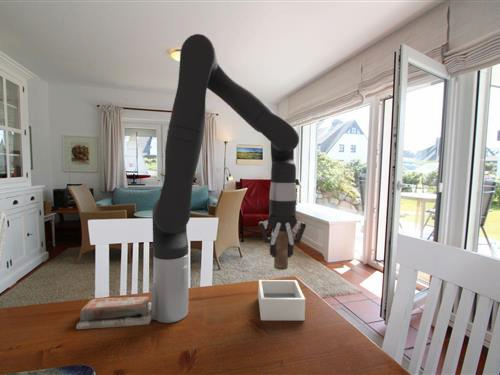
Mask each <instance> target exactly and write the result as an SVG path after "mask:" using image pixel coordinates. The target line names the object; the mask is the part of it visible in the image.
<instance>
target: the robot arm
mask: <svg viewBox="0 0 500 375" xmlns="http://www.w3.org/2000/svg"><path fill="white" fill-rule="evenodd" d="M180 48H181V49H180V52H179V53H180V55H179V69H178V80H177V89H176V93H175V96H174V97H175V98H174V101H173V106H172V109H171V110H172V111H171V114H170V119H169V120H170V121H169V123H168V124H169V125H168V130H167V136H166V141H165V151H164V152H165V153H164V177H163V178H164V179H163V183H162V187H161V191H160V194H159V198H158V199H157V200H156V201H155V203H154V205H153V207H152V249H153V282H152V283H151V286H150V294H151V295H150V299H151V300H150V302H151V317H152V319H151V321H152V320H155V321H157V322H159V323H165V324H172V323H177V322H179V321H181V320H183V319H184V318H186V316H188V314H189V241H188V234H187V232H188V231H187V230H188V229H187V226H188V224H189V221H190V218H191V211H192V210H191V209H192V208H191V207H192V206H191V205H192V194H193V186H194V180H195V175H196V172H197V169H198V163H199V159H200V154H201V152H202V146H203V140H204V136H205V127H206V98H207V90H209V91H211V92H212V93H213V94H215V95H216V96H218V97H219V98H220V99H221V100H222V101H223V102H224V103H226V104H227V106H228V107H230V108H231V109H232V110H233V111H234V112H236V114H237V115H238V116H239V117H241V118H242V120H243V121H245V123H247V124H248V125H249V126H250V127H251V128H252V129H254V130H255V131H256V132H258V133H260V134H262V135H263V136H264V137H265V138H266V139H267V140H268V141H269V142H270V156H271V157H270V158H271V170H270V187H269V212H268V215H269V216H268V218H267V219H266V220H264V221H263V220H262V221H261V220H260V221H259V222H258V226H259V229H260V231H261V234H262V238H263V240H264V243H266V244H269V255H270V256H271V257H272V258H274V257H275V241H276V238H277V235H278V232H279V231H287V234H288V239H289V242H288V259H289V258H291V257H292V256H293V254H294V245H295V244H299V243H301V240H302V237H303V234H304V232H305V230H306V226H307V224H306V223H305V222H304V221H299V220H298V219H297V217H296V216H297V215H296V214H297V213H296V212H297V211H296V210H297V183H296V182H297V167H296V164H295V162H294V159H295V157H294V156H295V149H296V148H297V147H298V145H299V142H300V137H299V133H298V132H297V130H296V129H295V127H294V126H293V125H292V124H290V122H287V121H286V120H285V119H284V118H282V117H281V116H280V115H278V114H276V113H275V112H273V110H272V109H271V108H270V107H269V106H268V105H267V104H265V103H264V101H263V100H262V99H260V97H258V96H257V95H255V94H254V93H253V92H252V91H250V90H249V89H247V88H245V87H243V86H242V85H240V84H238V83H237V82H235V81H234V80H233V79H232V78H231V77H230V76H229V75H228V74H227V73H226V72H225V70H223V68H222V67H221V66H220V64H219V63H218V59H217V58H218V56H217V51H216V48H215V45H214V43H212V41H211V40H210V39H209V37H207V36H206V35H204V34H201V33H200V34H199V33H196V34H191V35H190V36H189V37H187V38H186V39H185V41H184V42H183V44H182V45H181V47H180ZM268 225H269V227H270V228H271V229H272V230H271V233H270V234H271V235H270V237H268V235H267V231H266V230H267V228H268ZM295 226H296V228H297V231H296V233H295V236H294V237H293V232H292V230H293V229H294V228H295Z"/></svg>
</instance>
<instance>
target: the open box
mask: <svg viewBox="0 0 500 375" xmlns="http://www.w3.org/2000/svg"><path fill="white" fill-rule="evenodd" d="M257 294H258V296H257V299H258V308H259V315H260V316H259V317H260V321H305V318H306V297H305V295H304V294H303V292H302V289H301V287H300V285H299V283H298V281H297V280H296V279H258V291H257Z"/></svg>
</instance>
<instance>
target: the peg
mask: <svg viewBox="0 0 500 375" xmlns="http://www.w3.org/2000/svg"><path fill="white" fill-rule="evenodd" d="M288 242H289V239H288V234H287V231H279V232H278V235H277V238H276V241H275V257H273V258H274V259H273V268H274V269H276V270H281V271H283V270H288V268H289V267H288V266H289V257H288Z"/></svg>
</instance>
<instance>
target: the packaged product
mask: <svg viewBox="0 0 500 375" xmlns="http://www.w3.org/2000/svg"><path fill="white" fill-rule="evenodd" d="M79 315H80V320H79V321H78V323H77V324H76V330H86V329H87V330H88V329H102V328H103V329H104V328H117V327H118V328H120V327H131V326H132V327H133V326H142V325H143V326H144V325H150V323H151V322H152V317H151V301H150V296H136V297H135V296H131V297H130V296H129V297H105V298H94V299H90V300H88V302H87V304H85V305H84V306H83V307H82V309H81V310H80V313H79Z"/></svg>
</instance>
